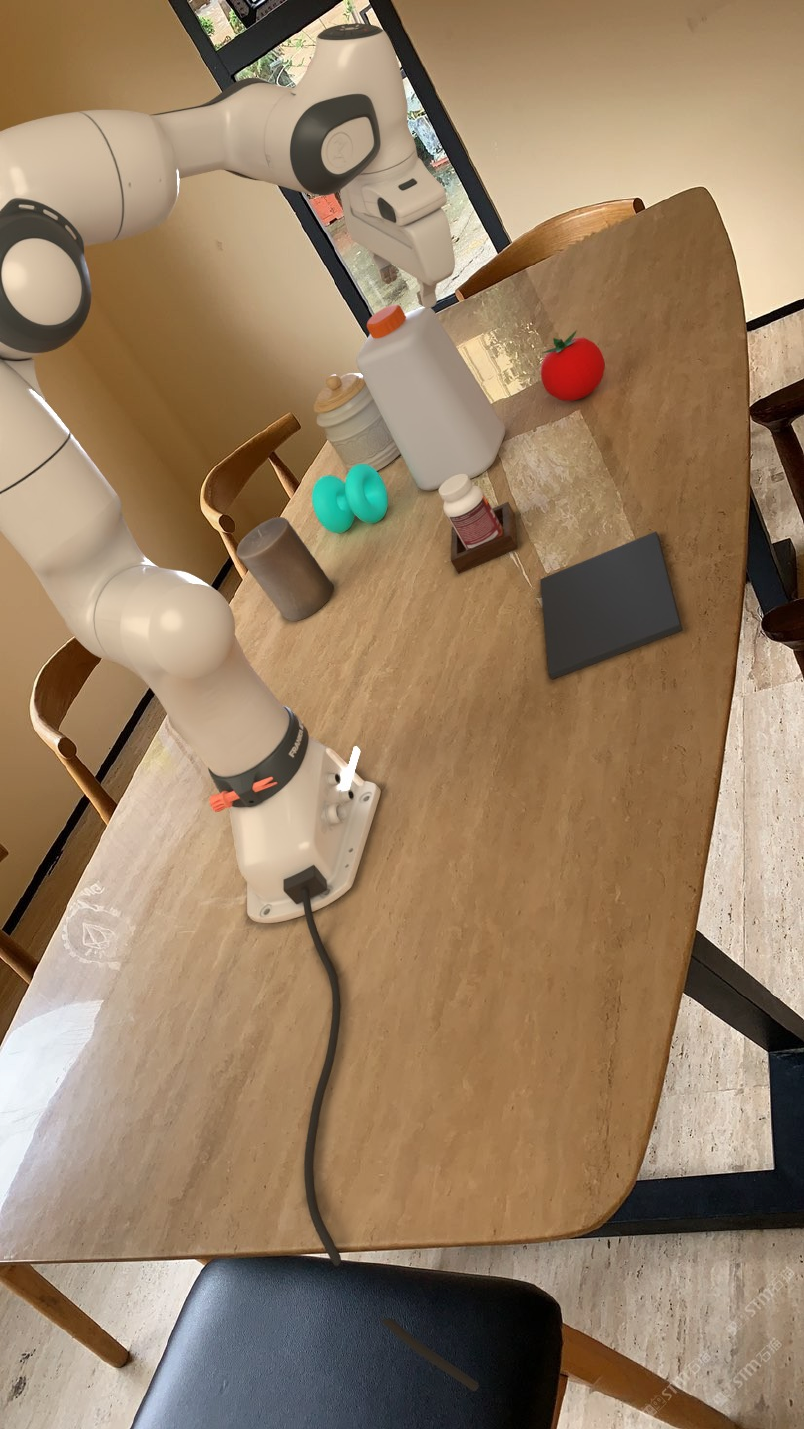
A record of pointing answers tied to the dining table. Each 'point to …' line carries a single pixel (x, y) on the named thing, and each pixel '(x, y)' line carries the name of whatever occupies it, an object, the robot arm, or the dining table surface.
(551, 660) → the mat
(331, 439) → the jar
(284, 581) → the pillar candle
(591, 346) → the tomato
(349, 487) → the teal spool
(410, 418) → the plastic bottle
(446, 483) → the pill bottle
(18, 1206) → the dining table surface
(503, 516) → the frame
